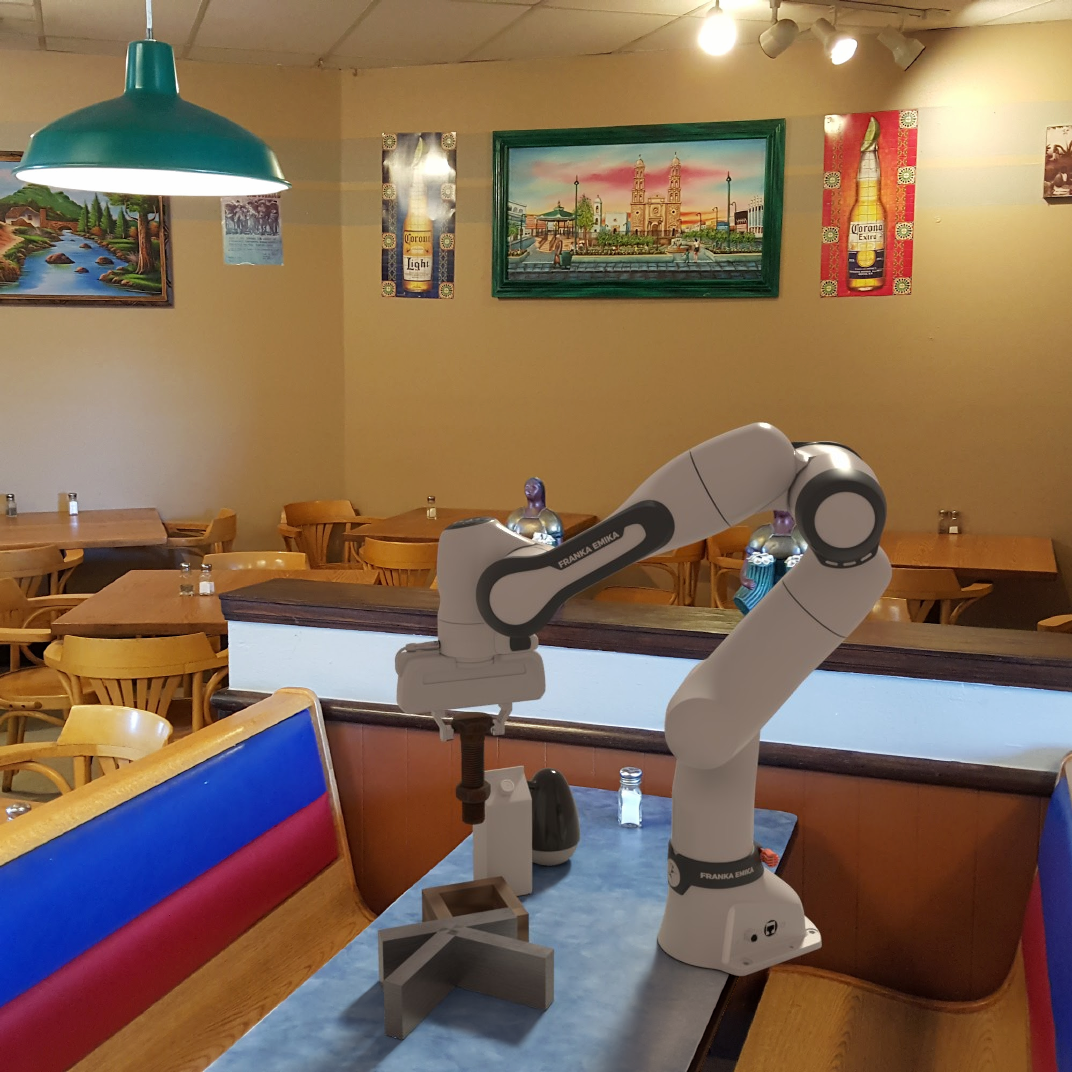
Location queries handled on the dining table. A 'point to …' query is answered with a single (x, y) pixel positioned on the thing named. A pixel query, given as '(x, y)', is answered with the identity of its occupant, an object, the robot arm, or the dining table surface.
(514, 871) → the milk carton
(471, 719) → the bolt
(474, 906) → the bore block
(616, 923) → the dining table surface
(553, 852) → the black egg shape
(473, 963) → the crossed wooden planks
